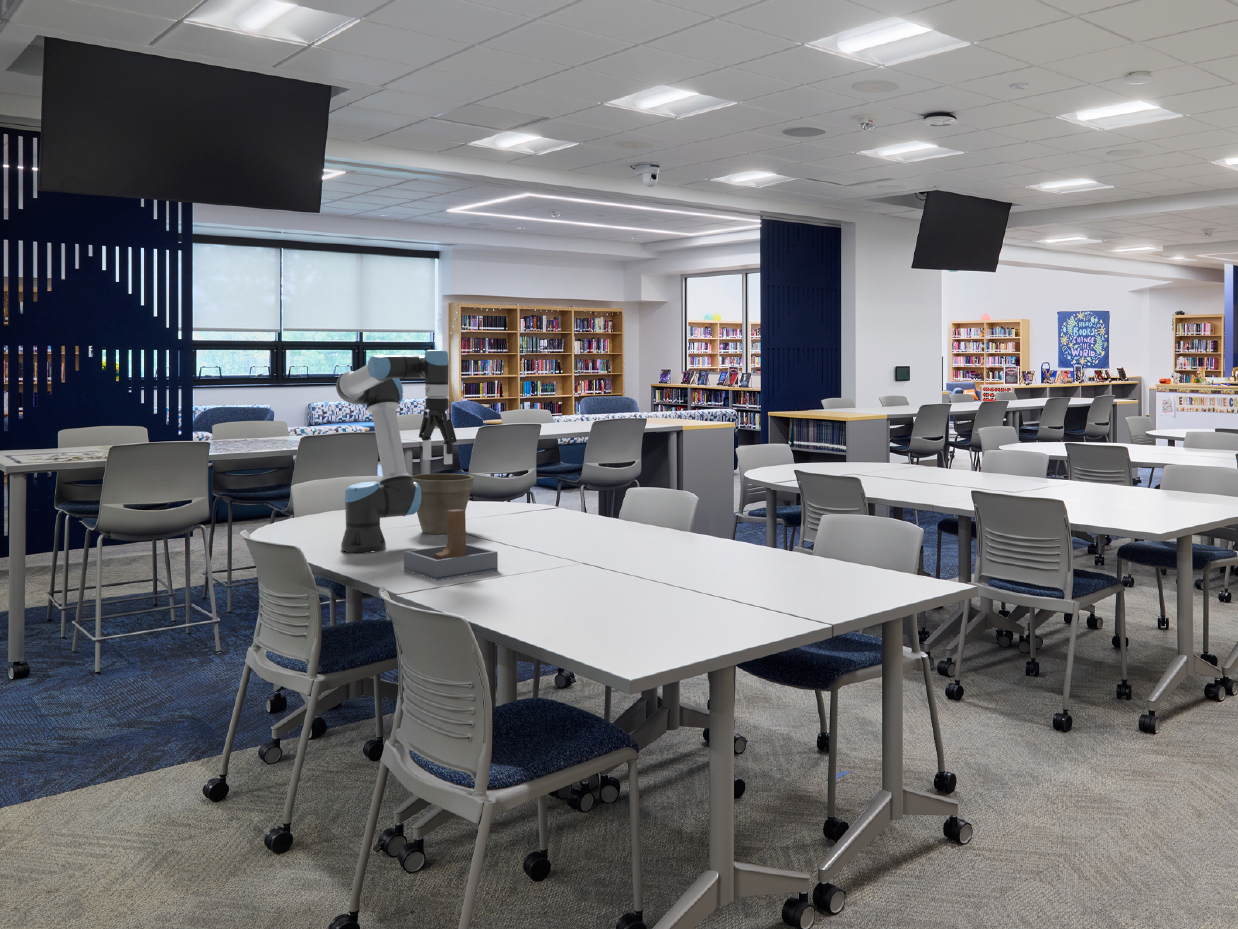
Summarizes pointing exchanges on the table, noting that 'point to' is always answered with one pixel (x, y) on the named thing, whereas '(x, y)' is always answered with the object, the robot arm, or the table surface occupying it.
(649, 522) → the table surface
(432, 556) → the open-top box
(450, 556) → the wooden block
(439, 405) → the robot arm
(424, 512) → the plant pot
